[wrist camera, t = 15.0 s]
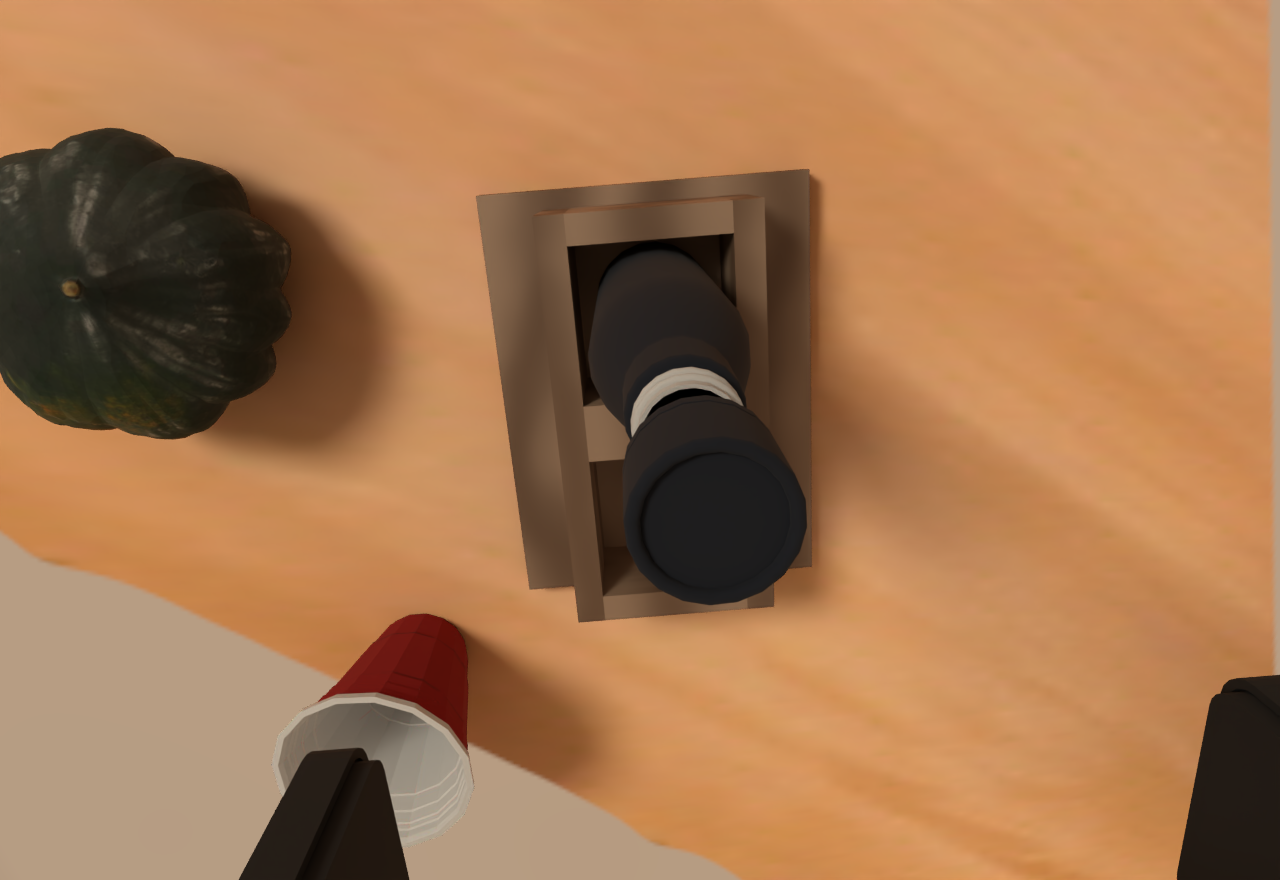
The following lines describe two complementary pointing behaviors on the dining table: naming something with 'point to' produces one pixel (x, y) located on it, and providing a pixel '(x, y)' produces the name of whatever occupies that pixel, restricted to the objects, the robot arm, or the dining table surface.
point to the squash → (134, 286)
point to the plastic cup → (398, 724)
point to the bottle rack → (560, 373)
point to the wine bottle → (691, 432)
